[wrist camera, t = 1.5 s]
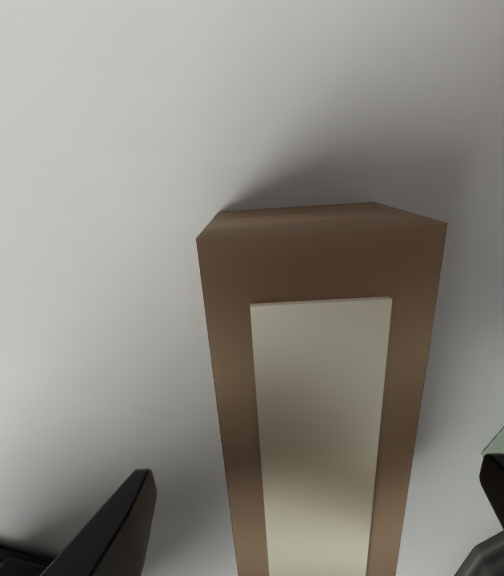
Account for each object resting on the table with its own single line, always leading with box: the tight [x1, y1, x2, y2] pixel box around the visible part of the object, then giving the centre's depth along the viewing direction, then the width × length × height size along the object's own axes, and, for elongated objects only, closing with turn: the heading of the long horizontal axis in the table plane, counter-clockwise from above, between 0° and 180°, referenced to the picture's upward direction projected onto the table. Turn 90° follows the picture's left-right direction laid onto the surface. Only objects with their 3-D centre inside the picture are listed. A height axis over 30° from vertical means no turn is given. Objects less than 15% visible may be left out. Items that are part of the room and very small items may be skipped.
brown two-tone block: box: [196, 202, 447, 576], centre depth 11 cm, size 13×5×5 cm, turn 4°
